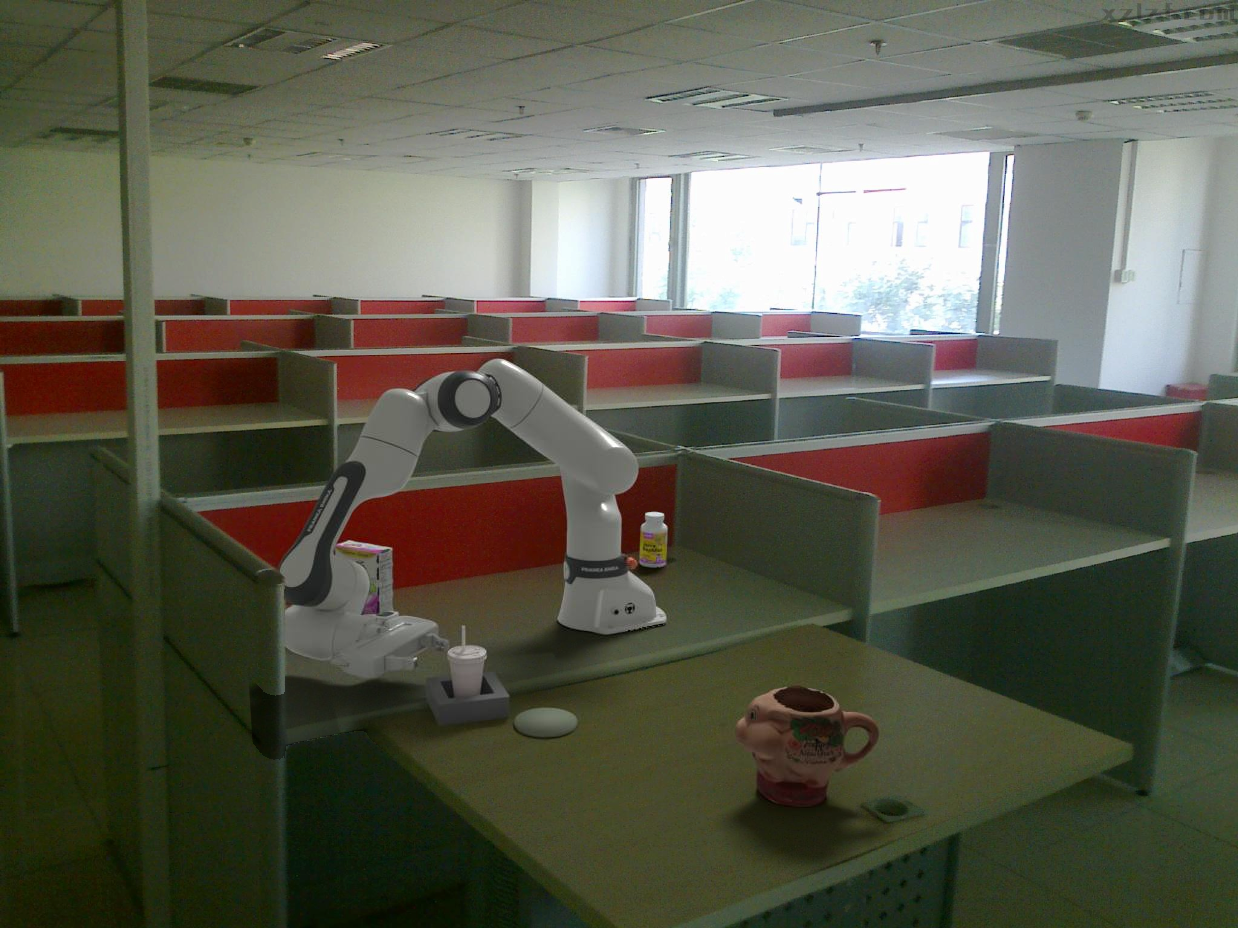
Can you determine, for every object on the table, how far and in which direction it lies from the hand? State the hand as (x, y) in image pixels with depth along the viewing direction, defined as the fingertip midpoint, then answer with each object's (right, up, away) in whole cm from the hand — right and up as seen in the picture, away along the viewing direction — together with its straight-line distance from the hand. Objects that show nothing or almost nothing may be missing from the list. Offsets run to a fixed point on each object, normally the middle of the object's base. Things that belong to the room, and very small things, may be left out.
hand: (431, 654), depth 177 cm
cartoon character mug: (+57, -15, -27) cm, 65 cm away
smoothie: (+6, -9, -1) cm, 11 cm away
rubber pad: (+19, -10, -7) cm, 23 cm away
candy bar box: (-20, -1, +37) cm, 42 cm away
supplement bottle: (+39, +7, +86) cm, 95 cm away
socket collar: (+6, -8, -1) cm, 10 cm away
